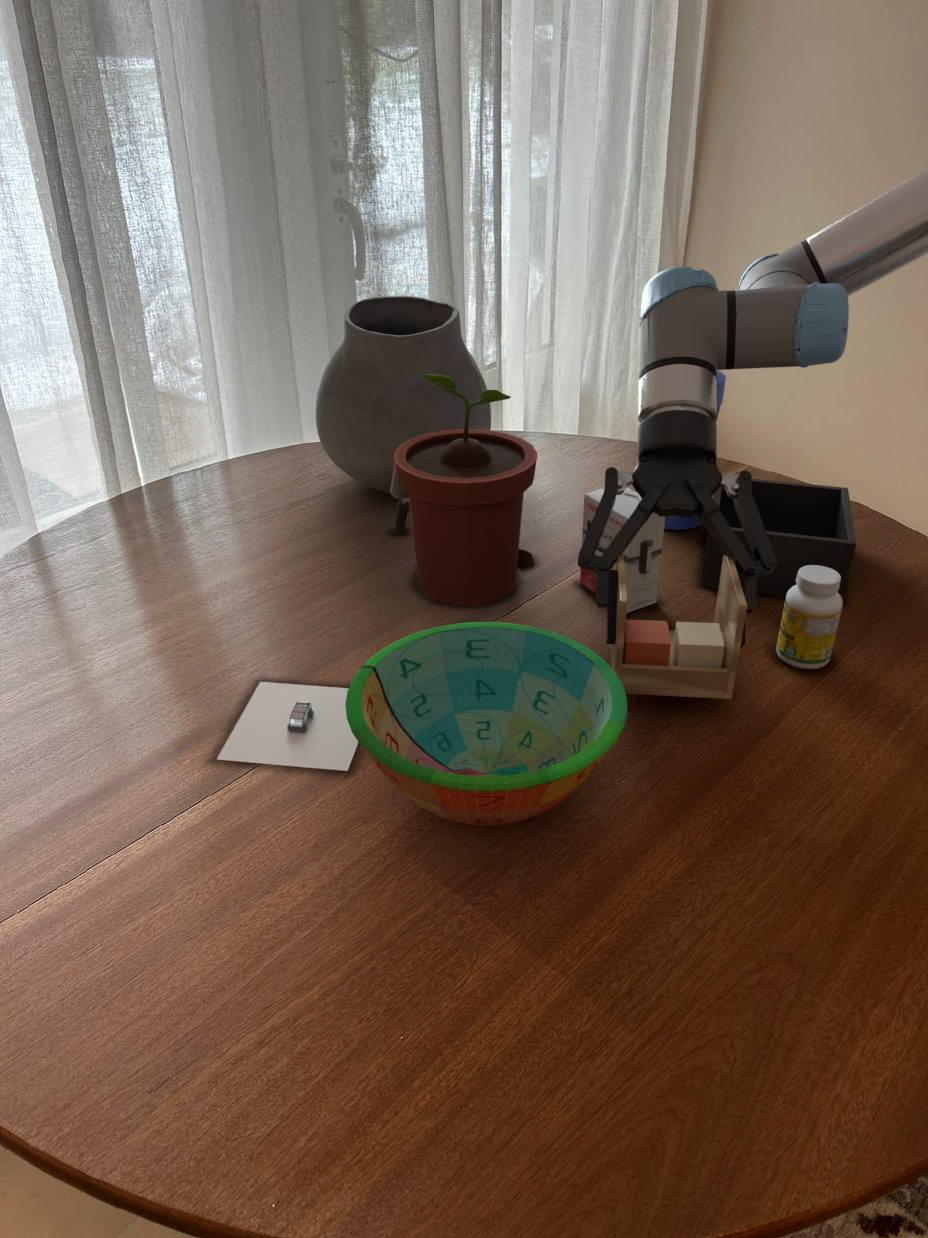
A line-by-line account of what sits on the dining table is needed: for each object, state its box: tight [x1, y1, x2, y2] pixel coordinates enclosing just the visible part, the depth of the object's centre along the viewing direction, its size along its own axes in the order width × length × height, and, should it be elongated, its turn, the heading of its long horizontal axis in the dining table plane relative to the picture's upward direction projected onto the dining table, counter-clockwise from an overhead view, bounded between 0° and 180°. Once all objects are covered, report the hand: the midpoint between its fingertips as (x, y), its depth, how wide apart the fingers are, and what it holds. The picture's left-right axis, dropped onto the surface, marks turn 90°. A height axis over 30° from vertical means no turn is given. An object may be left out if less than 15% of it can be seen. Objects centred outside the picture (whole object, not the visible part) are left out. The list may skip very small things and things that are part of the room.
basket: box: [700, 478, 857, 602], centre depth 111 cm, size 16×16×8 cm
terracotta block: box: [622, 619, 671, 666], centre depth 88 cm, size 4×4×4 cm
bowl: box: [345, 621, 628, 826], centre depth 76 cm, size 22×22×10 cm
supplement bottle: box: [775, 565, 844, 670], centre depth 93 cm, size 5×5×10 cm
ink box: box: [579, 486, 665, 614], centre depth 104 cm, size 8×5×12 cm, turn 31°
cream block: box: [672, 621, 724, 668], centre depth 87 cm, size 4×4×4 cm
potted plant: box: [390, 374, 538, 606], centre depth 106 cm, size 18×22×25 cm
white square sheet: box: [216, 681, 359, 772], centre depth 86 cm, size 12×12×2 cm
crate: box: [610, 552, 747, 700], centre depth 87 cm, size 11×11×10 cm
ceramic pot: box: [315, 295, 492, 495], centre depth 128 cm, size 24×24×25 cm
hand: (674, 644), depth 85 cm, fingers closed on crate, 11 cm apart
